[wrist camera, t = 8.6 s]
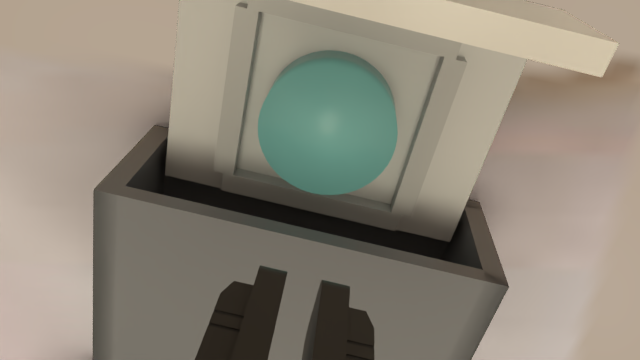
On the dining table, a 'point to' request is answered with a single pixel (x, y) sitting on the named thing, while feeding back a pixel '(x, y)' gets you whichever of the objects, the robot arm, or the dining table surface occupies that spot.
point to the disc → (328, 123)
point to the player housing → (279, 253)
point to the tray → (397, 69)
